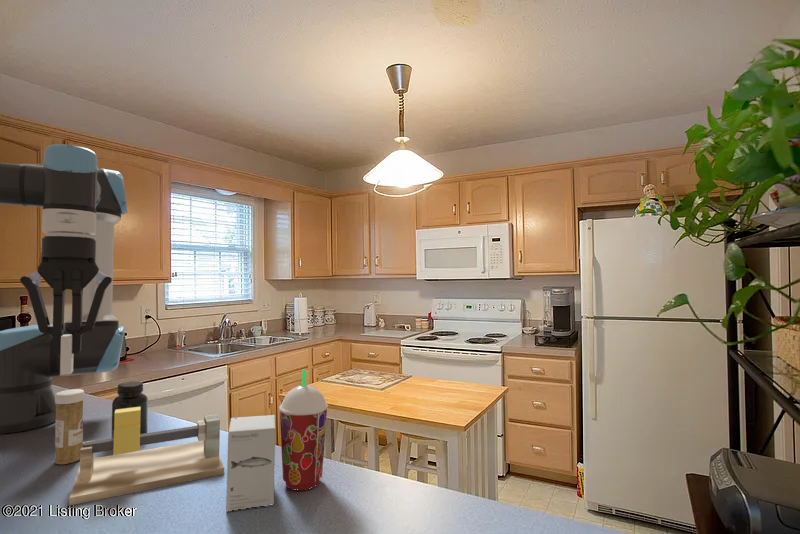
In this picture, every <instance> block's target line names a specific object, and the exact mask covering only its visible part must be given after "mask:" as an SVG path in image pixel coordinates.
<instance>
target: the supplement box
mask: <svg viewBox="0 0 800 534" xmlns="http://www.w3.org/2000/svg"><path fill="white" fill-rule="evenodd" d="M276 426H277V425H276V415H275V414H271V415H270V414H268V415H256V416H254V415H252V416H237V417H231V418H230V422H229V426H228V434H227V462H226V463H227V466H226V467H227V468H226V473H227V474H226V496H225V497H226V503H225V511H227V512H226V513H229V512H232V510H234V511H239V510H238V509H241V510H247V509H246V508H249V509H252V508H251V507H257V506H264V505H270V504H274V505H275V465H276V464H275V458H276V456H275V455H276ZM257 508H258V507H257ZM228 511H229V512H228Z"/></svg>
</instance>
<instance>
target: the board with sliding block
mask: <svg viewBox="0 0 800 534" xmlns="http://www.w3.org/2000/svg"><path fill="white" fill-rule="evenodd" d="M196 422H197V423H196V426H198V437H197V440H198V441H197V440H196V441H191V442H186V443H179V444H173V445H165V446H160V447H154V448H148V449H143V450H141V449H140V451H134V452H128V453H122V454H116V455H113V454H112V455H106V456H99V457H94V456H95V455H94V454H95V453H92V447H85V448H83V445H84V442H90V441H91V440H88V441H82V448H81V449H80V460H79V467H78V471H77V474H76V475H75V476H76V477H75V479H74V483H73V486H72V489H71V492H70V495H69V504H68V505H69V506H73V505H77V504H83V503H87V502H88V503H89V502H93V501H98V500H102V499H108V498H112V497H117V496H123V495H127V494H132V493H139V492H143V491H148V490H152V489H157V488H156V487H158V488H161V487H160V486H163V487H166V486H165V485H167V486H171V485H170V484H172V485H176V484H175V483H177V484H182V483H186V481H187V482H191V481H190V480H192V481H196V479H197V480H201V479H200V478H202V479H206V478H207V479H208V478H211V477H216V476H220V475H221V474H222V475H225V467H224V463H223V461H222V459H221V457H220V443H221V442H220V439H221V438H220V434H221V433H220V432H221V429H220V428H221V419H220V418H219V415H218V414H217V413H215V414H208V415H204V416H203V420H202V419H201V420H197V421H196ZM92 441H95V439H93V440H92ZM181 482H182V483H181ZM147 489H148V490H147ZM142 490H143V491H142Z"/></svg>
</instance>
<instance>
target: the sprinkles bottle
mask: <svg viewBox="0 0 800 534" xmlns="http://www.w3.org/2000/svg"><path fill="white" fill-rule="evenodd" d="M84 400H85V391H84V390H83V389H80V388H73V389H66V390H62V391H58V392H56V393H55V403H56V421H55V429H54V431H55V436H54V446H55V456H54V457H55V458H54V463H55V464H56V465H69V463H70V464H73V463H75V462H78V461H80V449H81V448H82V444H83V442H84V438H83V437H84V418H83V417H84V414H83V413H84V412H83V411H84V409H83V408H84Z"/></svg>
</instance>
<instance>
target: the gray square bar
mask: <svg viewBox="0 0 800 534" xmlns="http://www.w3.org/2000/svg"><path fill="white" fill-rule="evenodd" d="M196 437H198V426H197V425H193V426H187V427H186V426H185V427H179V428H172V429H165V430H160V431H153V432H147V433H144V434H140V447H141V446H147V445H151V444H158V443H159V444H160V443H165V442H172V441H178V440H186V439H191V438H196ZM89 441H90V442H86V441H83V442H84V445H83V448H85V447H92V453H94V454H96V453H102V452H109V451H114V438H111V437H110V438H105V439H98V440H94V441H93V440H89Z"/></svg>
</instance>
